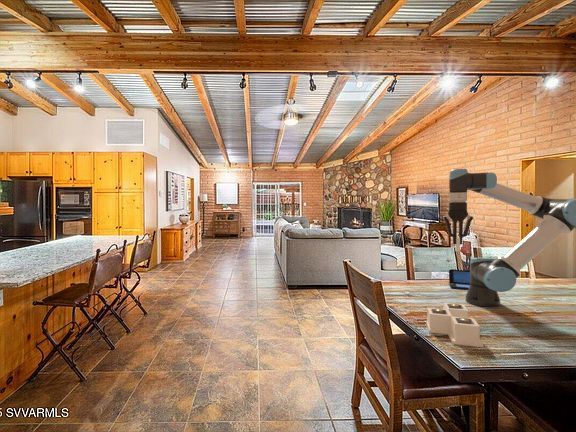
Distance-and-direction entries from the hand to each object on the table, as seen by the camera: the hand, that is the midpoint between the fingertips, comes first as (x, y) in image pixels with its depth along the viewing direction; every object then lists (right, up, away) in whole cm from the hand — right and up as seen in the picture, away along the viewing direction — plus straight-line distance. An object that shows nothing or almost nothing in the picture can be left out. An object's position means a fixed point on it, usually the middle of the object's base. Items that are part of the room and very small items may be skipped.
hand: (457, 251), depth 151 cm
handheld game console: (+26, -27, +40) cm, 55 cm away
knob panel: (-15, -30, -22) cm, 40 cm away
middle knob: (-19, -28, -21) cm, 40 cm away
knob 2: (-14, -28, -32) cm, 45 cm away
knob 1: (-9, -27, -15) cm, 33 cm away
